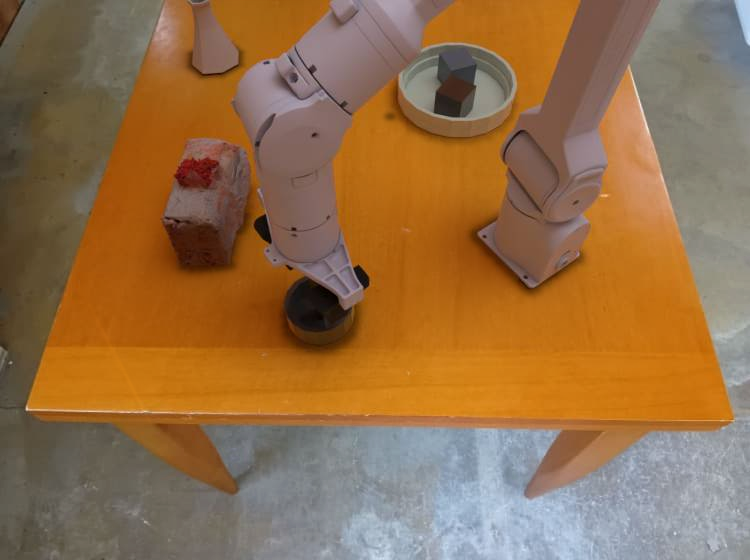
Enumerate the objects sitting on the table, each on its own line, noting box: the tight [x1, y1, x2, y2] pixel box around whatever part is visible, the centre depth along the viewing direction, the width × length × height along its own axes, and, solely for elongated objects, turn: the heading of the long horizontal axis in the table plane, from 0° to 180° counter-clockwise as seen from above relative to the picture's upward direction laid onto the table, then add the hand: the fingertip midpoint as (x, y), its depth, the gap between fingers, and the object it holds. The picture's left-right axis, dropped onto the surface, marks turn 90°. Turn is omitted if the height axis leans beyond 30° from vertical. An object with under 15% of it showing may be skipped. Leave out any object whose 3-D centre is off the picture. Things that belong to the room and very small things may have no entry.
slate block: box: [437, 47, 477, 84], centre depth 81 cm, size 4×4×4 cm
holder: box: [283, 275, 356, 346], centre depth 61 cm, size 7×7×4 cm
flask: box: [186, 0, 240, 75], centre depth 82 cm, size 7×7×10 cm
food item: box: [160, 137, 252, 266], centre depth 66 cm, size 14×8×10 cm, turn 178°
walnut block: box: [434, 75, 477, 118], centre depth 77 cm, size 4×4×4 cm
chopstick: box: [308, 277, 325, 320], centre depth 58 cm, size 1×1×9 cm
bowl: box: [397, 42, 518, 138], centre depth 80 cm, size 16×16×4 cm
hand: (316, 289), depth 58 cm, fingers open, 7 cm apart
